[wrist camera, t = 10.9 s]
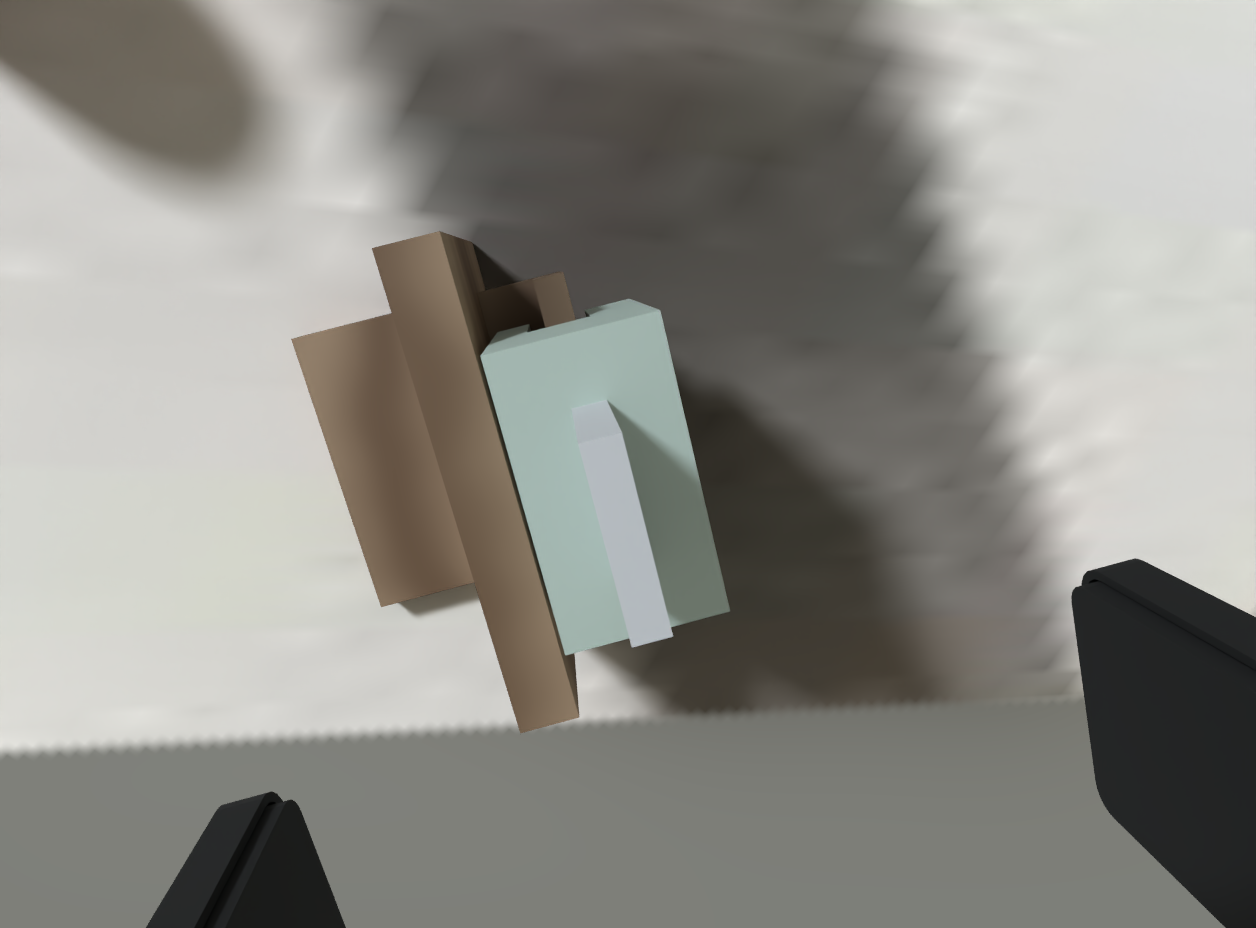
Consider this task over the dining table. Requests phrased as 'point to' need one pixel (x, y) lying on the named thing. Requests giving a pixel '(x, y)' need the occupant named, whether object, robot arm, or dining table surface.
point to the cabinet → (606, 475)
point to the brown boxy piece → (443, 453)
